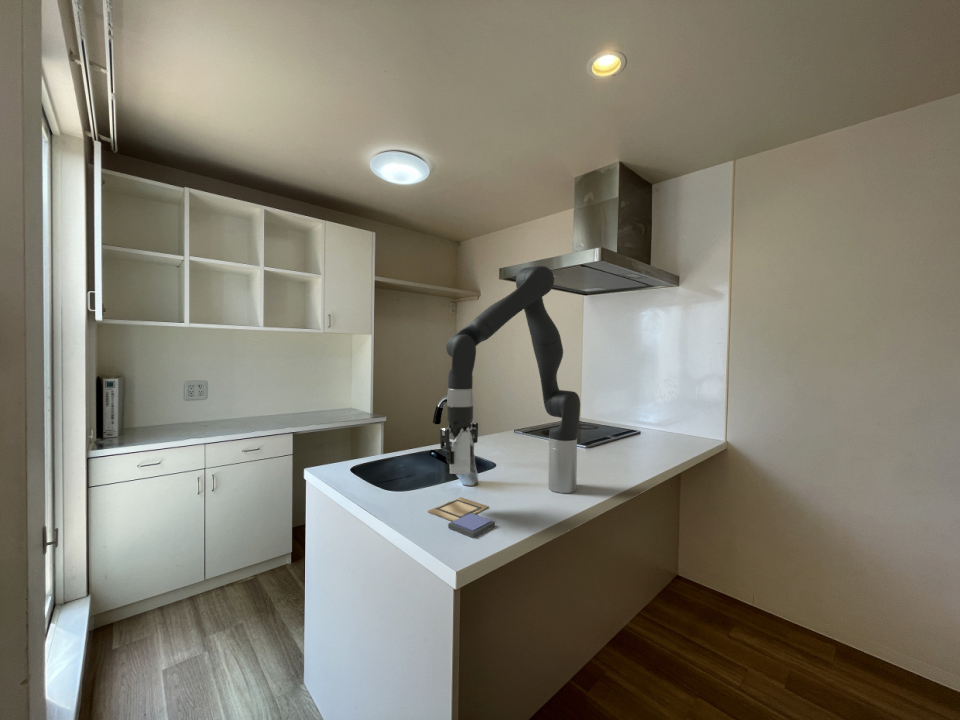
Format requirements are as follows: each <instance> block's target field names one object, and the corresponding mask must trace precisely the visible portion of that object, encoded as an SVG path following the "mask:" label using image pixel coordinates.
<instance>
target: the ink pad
mask: <svg viewBox="0 0 960 720" xmlns="http://www.w3.org/2000/svg"><path fill="white" fill-rule="evenodd" d="M447 526H448V527H447V528H448V529H450V530H452V531H454V532H456V533H459V534H462V535H464V536H466V537H469V538H472V539H475V538H476V537H477V536H480V535H482V534H483V533H484V532H487V531H488V530H490V529H493V528H494V527H496V521H495V520H492V519H490V518H486V517H484V516H480V515H478V514H473V513H469V514H467V515H465V516H463V517H461V518H459V519H457V520H455V521H453V522H452V521H450V522H448V523H447Z"/></svg>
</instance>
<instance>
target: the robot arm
mask: <svg viewBox="0 0 960 720" xmlns="http://www.w3.org/2000/svg"><path fill="white" fill-rule="evenodd" d="M554 283H555V276H554V273H553V271H552V270H551V268H549V267H547V266H544V265H535V266H527V267H524V268H521V269H520V270H519V271H518V272H517V274H516V277H515V286H516V288H515V290H514V291H512V292H511V293H509V294H508V295H507V296H504V297H503V298H502V299H499V300H498V301H496V302H494V303H492V304H491V305H489V306H488V307H486V309H484V310H483V311H482V312H481V313H480V314H478V316H476V317H475V318H474V319H473V320H472V321H471V322H470V323H469V324H468V325H466V326H465V327H463V328H461V329H459V331H457V332H456V333H454V334H453V335H452V336H451V337H450V338H449V339H448V340H447V342H446V345H445V346H446V347H445V348H446V353H447V354H448V355H449V357H450V358H451V367H450V369H449V371H448V378H447V379H448V382H447V385H448V387H447V394H446V395H447V398H446V399H447V401H446V420H447V421H448V426H447V427H441V428H439V429H440V430H439V431H440V432H439V435H440V436H439V437H440V439H439V440H440V441H439V442H440V449H441V450H444V451H445V454H446V456H445V460H446V463H447V464H448V465H450V464H451V465H452V464H454V449H455V446H456V444H458V442H459V439H460V437H461V435H462V432H463V431H470V460H471V459H472V458H473V446H474V444H477V443H478V441H479V440H478V437H479V423H478V422H475V421H474V422H472V421H473V420H474V392H473V389H474V388H473V377H474V376H473V372H474V368H475V364H476V363H475V361H476V356H477V346H478V345H479V344H480V343H482V342H485V341H486V340H488V339H490V338H491V337H492V336H493V335H495V334H496V333H497V332H498V331H499V330H500V329H501V328H503V326H504V325H506V324H507V322H509V321H510V320H512V319H513V318H514V317H515V316H516V315H518V314H519V313H520V312H522V311H524V313H525V318H526V321H527V326H528V331H529V335H530V337H531V344H532V347H533V353H534V357H535V359H536V363H537V368H538V373H539V378H540V385H541V393H542V400H543V405H544V409H545V411H546V413H547V414H548V415H549V416H551V417H554V418H556V417H557V418H559V419H560V418H561V420H560V421H561V422H560V425H559V426H555V427H551V428H550V429H549V431H548V479H547V480H548V485H547V486H548V489H549V490H550V491H551V492H555V493H560V494H570V493H571V494H572V493H575V492H576V491H577V484H578V483H577V476H578V475H577V474H578V473H577V471H578V470H577V469H578V467H577V466H578V459H577V458H578V454H577V453H578V434H579V433H578V432H579V429H580V419H581V418H580V417H581V399H580V396H579V395H578V393H577V392H576V391H573V390H562V389H560V388H559V385H558V378H557V377H558V376H557V375H558V370H559V368H560V366H561V362H562V360H563V357H564V348H563V343H562V338H561V334H560V331H559V329H558V327H557V326H556V324H555V323H554V321H553V320H552V318H551V317H550V315H549V313H548V312H547V309H546V306H545V304H544V300H543V299H544V298H543V297H544V296H546V295H547V294H549V293H550V292H551V291H552V289H553V287H554V285H555V284H554ZM451 432H452V433H453V436H454V437H455V440H452V439H450V433H451ZM450 442H451V443H452V445H451V447H450Z"/></svg>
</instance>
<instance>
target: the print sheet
mask: <svg viewBox="0 0 960 720" xmlns="http://www.w3.org/2000/svg"><path fill="white" fill-rule="evenodd" d="M489 508H490V507H489V505H487V504H483V503H480V502H477V501H473V500H470V499H467V498H465V497H461V496H460V497H457V498H455V499H453V500H451V501H448V502H446V503H443V504H441V505H438V506H436V507H434V508H431V509H429V510H427V513H429V514H432V515H433V516H437V517H439V518H442V519H444V520H446V521H448V522H449V521H450V522H453V521H455V520H457V519H459V518H461V517H463V516H465V515H467V514H469V513H473V514H476V515H478V514H479V513H481V512H483V511H485V510H488V509H489Z"/></svg>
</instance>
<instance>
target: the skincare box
mask: <svg viewBox="0 0 960 720" xmlns="http://www.w3.org/2000/svg"><path fill="white" fill-rule="evenodd" d="M450 439H452V440H455V437H454V436H453V433H452V432H451V433H450ZM451 445H452V443H451V442H450V447H451ZM449 474H450V475H454V474H455V475H457V474H464V475H465V474H471V459H470V431H463V432H462V435H461V437H460V439H459V442H458V444H456V446H455V449H454V464H452V465H451V464H449Z"/></svg>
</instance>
